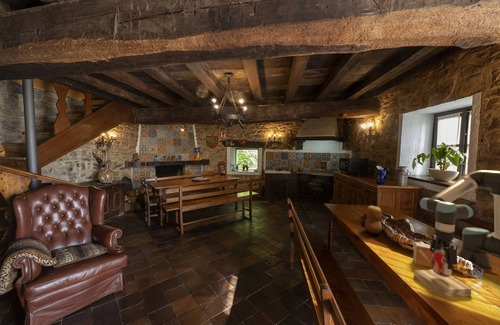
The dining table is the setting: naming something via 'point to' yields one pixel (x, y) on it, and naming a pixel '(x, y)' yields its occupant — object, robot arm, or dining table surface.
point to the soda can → (439, 262)
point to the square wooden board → (442, 284)
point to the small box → (422, 254)
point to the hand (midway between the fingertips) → (441, 269)
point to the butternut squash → (373, 219)
